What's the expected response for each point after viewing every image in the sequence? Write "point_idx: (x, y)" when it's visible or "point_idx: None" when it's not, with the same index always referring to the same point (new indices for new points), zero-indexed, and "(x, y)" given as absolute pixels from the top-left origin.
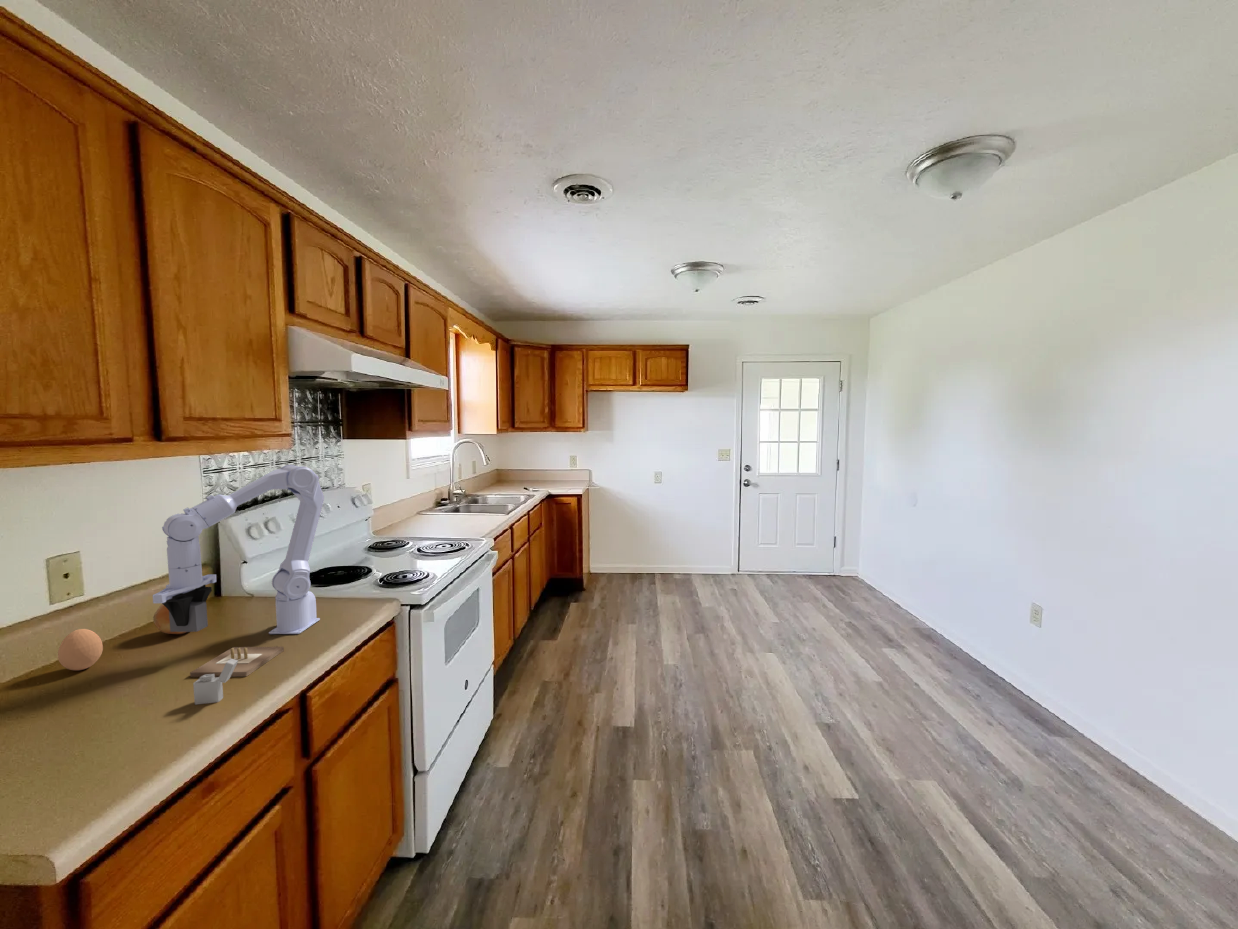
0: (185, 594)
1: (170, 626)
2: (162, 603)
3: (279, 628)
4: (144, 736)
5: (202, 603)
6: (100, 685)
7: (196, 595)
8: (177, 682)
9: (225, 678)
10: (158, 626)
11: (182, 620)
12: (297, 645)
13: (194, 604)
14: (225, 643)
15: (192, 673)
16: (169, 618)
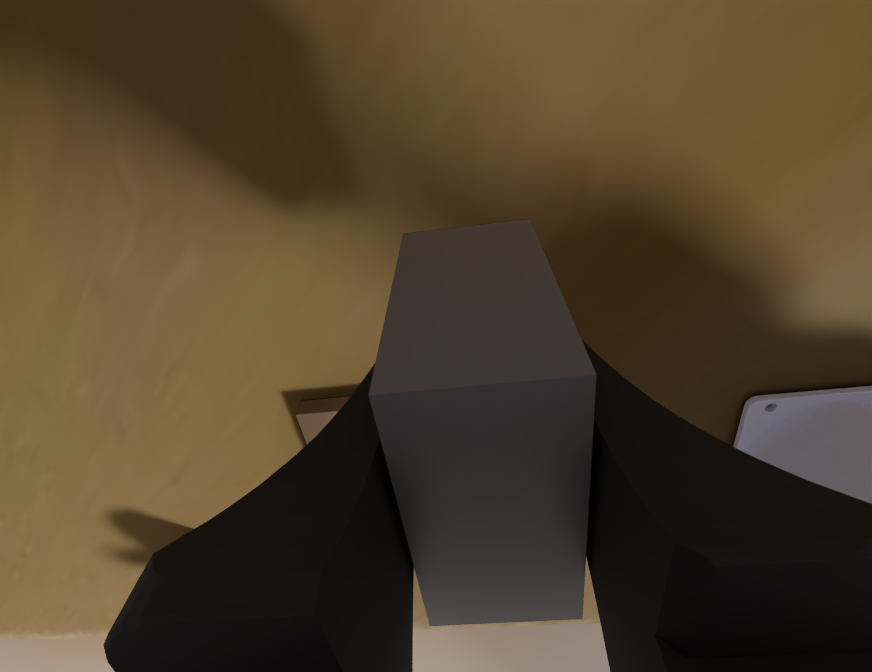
0: (646, 552)
1: (398, 261)
2: (177, 550)
3: (765, 451)
4: (33, 541)
5: (529, 618)
6: (69, 25)
7: (623, 640)
8: (254, 390)
9: None
10: None
11: None
12: None
13: (486, 590)
14: (658, 263)
15: (300, 419)
16: (390, 295)
